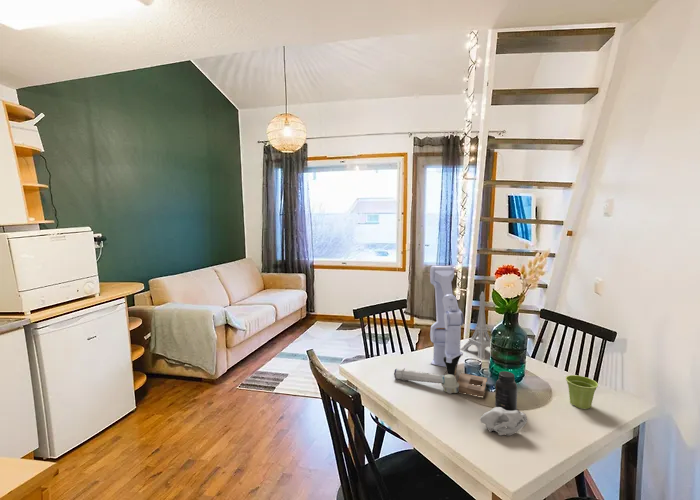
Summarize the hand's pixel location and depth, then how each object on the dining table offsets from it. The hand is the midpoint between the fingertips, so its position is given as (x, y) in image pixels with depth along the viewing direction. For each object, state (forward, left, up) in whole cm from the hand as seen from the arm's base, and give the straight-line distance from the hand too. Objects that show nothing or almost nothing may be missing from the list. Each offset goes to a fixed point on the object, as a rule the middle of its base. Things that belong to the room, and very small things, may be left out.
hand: (451, 373), depth 138 cm
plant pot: (-2, +44, -3) cm, 44 cm away
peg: (0, 0, -2) cm, 2 cm away
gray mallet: (+9, -8, -3) cm, 13 cm away
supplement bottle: (+12, +21, -3) cm, 24 cm away
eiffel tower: (-37, +7, -3) cm, 38 cm away
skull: (+27, +21, -3) cm, 34 cm away
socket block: (+3, +8, -3) cm, 9 cm away
